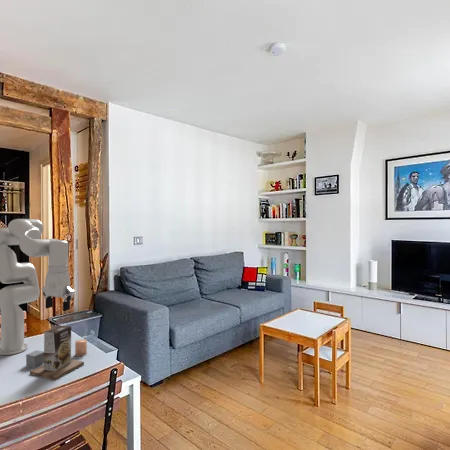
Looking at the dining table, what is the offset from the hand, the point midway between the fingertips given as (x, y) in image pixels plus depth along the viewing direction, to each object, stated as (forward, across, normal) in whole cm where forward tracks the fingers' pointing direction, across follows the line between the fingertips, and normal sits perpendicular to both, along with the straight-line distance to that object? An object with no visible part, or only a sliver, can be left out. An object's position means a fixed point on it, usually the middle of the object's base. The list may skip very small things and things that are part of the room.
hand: (57, 309), depth 137 cm
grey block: (+26, -12, 0) cm, 29 cm away
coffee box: (+25, +1, 0) cm, 25 cm away
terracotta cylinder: (+26, -2, +16) cm, 30 cm away
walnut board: (+26, +1, 0) cm, 26 cm away
